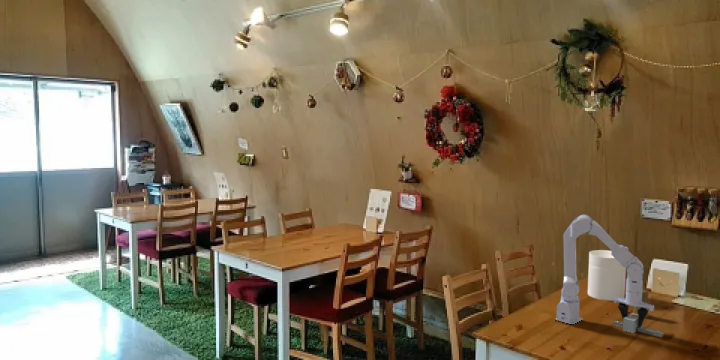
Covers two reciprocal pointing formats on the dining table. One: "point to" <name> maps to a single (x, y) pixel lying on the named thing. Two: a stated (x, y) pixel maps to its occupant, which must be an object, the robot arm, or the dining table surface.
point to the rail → (641, 329)
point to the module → (630, 323)
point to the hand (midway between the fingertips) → (632, 324)
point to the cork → (644, 299)
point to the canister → (605, 276)
